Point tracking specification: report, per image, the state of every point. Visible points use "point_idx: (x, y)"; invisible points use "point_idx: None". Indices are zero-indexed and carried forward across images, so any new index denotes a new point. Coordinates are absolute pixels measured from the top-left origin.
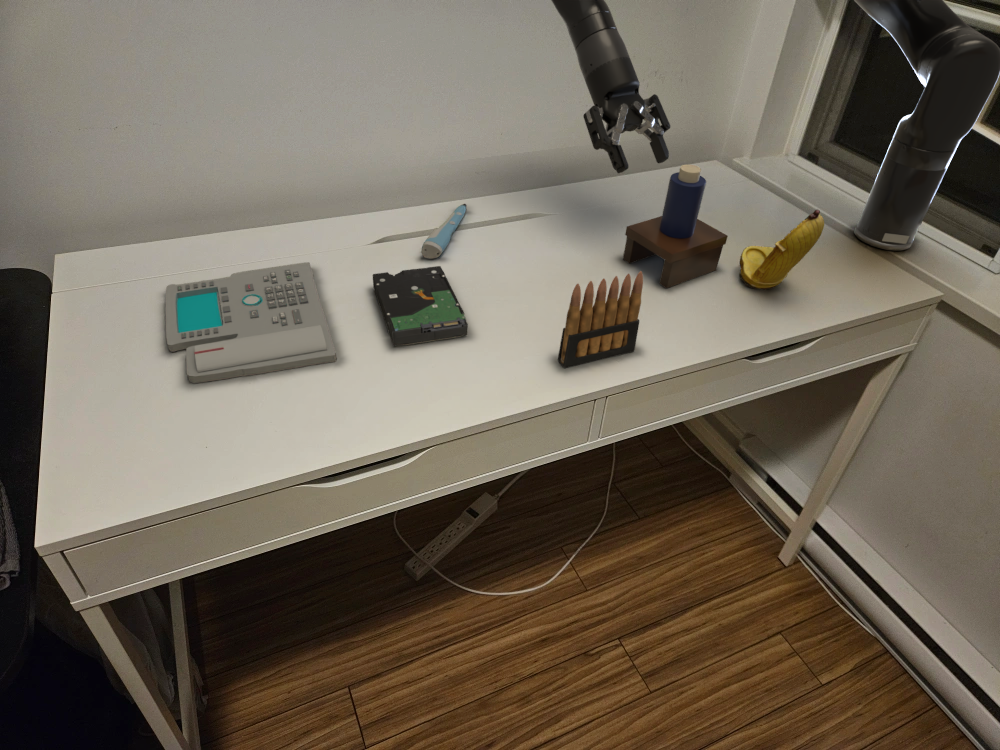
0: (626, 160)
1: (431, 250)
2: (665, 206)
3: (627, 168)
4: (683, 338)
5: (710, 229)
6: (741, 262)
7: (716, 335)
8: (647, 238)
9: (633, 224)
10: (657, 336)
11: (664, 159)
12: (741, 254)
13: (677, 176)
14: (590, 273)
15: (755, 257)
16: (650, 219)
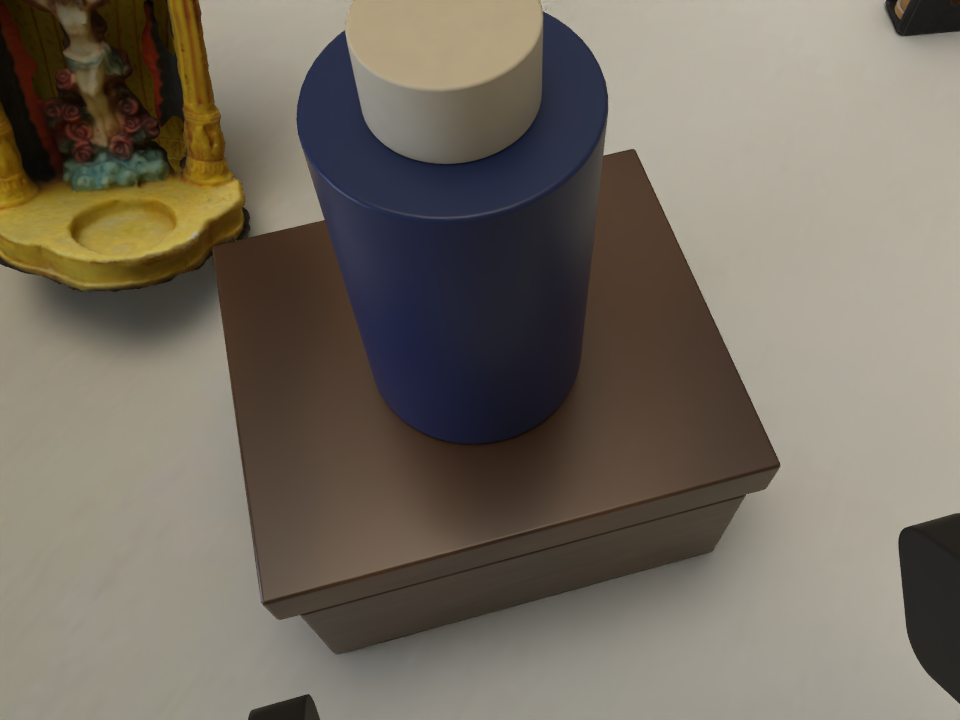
0: (954, 557)
1: None
2: (590, 268)
3: (904, 540)
4: (685, 26)
5: (259, 321)
6: (200, 248)
7: (562, 20)
8: (701, 304)
9: (722, 478)
10: (773, 48)
11: (316, 712)
12: (180, 250)
13: (522, 146)
14: (936, 464)
15: (120, 239)
16: (570, 517)
